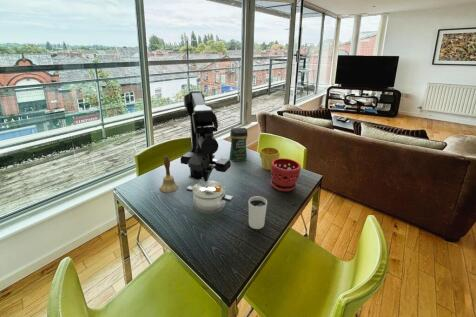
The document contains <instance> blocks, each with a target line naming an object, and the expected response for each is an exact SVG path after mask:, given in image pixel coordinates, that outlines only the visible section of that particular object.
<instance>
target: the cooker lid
mask: <svg viewBox="0 0 476 317" xmlns="http://www.w3.org/2000/svg"><path fill="white" fill-rule="evenodd" d="M192 186H193V188H192V191H193V192H192V195H193V194H194V195H195V196H196V197H199V198H202V199H215V198H218V197H220V196H222V195H223V194H224V193H225V194H226V186H225V185H224V184H223V183H222V182H220V181H216V180H208V181H207V182H205V181H204V180H203V181H198V182H197V183H195V184H194V185H192Z"/></svg>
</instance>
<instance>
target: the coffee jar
mask: <svg viewBox="0 0 476 317" xmlns="http://www.w3.org/2000/svg"><path fill="white" fill-rule="evenodd" d="M229 133H230V134H229V136H230V140H231V141H230V149H229V150H230V151H229V160H230V161H232V162H242V161H243V162H244V161H246V160H247V154H248V153H247V139H248V136H249V135H248V134H249V133H248V129H247V128H246V127H231V129H230V132H229Z"/></svg>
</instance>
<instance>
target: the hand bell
mask: <svg viewBox="0 0 476 317" xmlns="http://www.w3.org/2000/svg"><path fill="white" fill-rule="evenodd" d="M163 166H164V168H165V175H164V176H163V178H162V179H163V181H162V184H161V185H160V187H159V190H160V191H161V192H164V193H172V192H175V191H177V190H178V189H179V184H178V183H176V181H175V179H174V176H173V175H171V172H170V166H171V160H170V158H169V156H168V155H165V156H164V159H163Z"/></svg>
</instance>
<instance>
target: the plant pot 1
mask: <svg viewBox="0 0 476 317" xmlns="http://www.w3.org/2000/svg"><path fill="white" fill-rule="evenodd" d="M280 154H281V151H280V150H279V149H278V148H276V147H270V146H267V147H263V148H260V150H259V157H260V159H261V166H262V169H264V170H266V171H271V165H272V161H273V160H275V159H280ZM275 166H277V164H275Z"/></svg>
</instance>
